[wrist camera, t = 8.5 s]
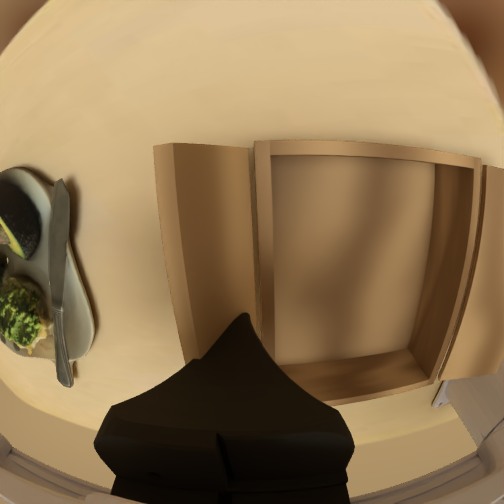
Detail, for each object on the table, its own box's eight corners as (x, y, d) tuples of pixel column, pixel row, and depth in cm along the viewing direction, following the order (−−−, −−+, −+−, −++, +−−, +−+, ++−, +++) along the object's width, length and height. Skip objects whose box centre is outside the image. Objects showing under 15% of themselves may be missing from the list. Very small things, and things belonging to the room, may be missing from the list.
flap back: (486, 165, 10) (482, 165, 11) (439, 380, 15) (437, 376, 15) (546, 179, 9) (541, 178, 9) (495, 373, 13) (493, 369, 14)
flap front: (172, 142, 5) (153, 146, 5) (232, 489, 10) (222, 486, 10) (248, 148, 10) (235, 149, 11) (261, 413, 15) (252, 411, 15)
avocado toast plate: (147, 380, 21) (130, 420, 16) (20, 367, 22) (1, 390, 17) (76, 139, 15) (32, 138, 10) (-39, 202, 16) (-69, 212, 11)
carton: (436, 155, 15) (480, 158, 10) (408, 348, 19) (433, 383, 15) (253, 146, 15) (254, 140, 11) (263, 366, 20) (265, 412, 15)
